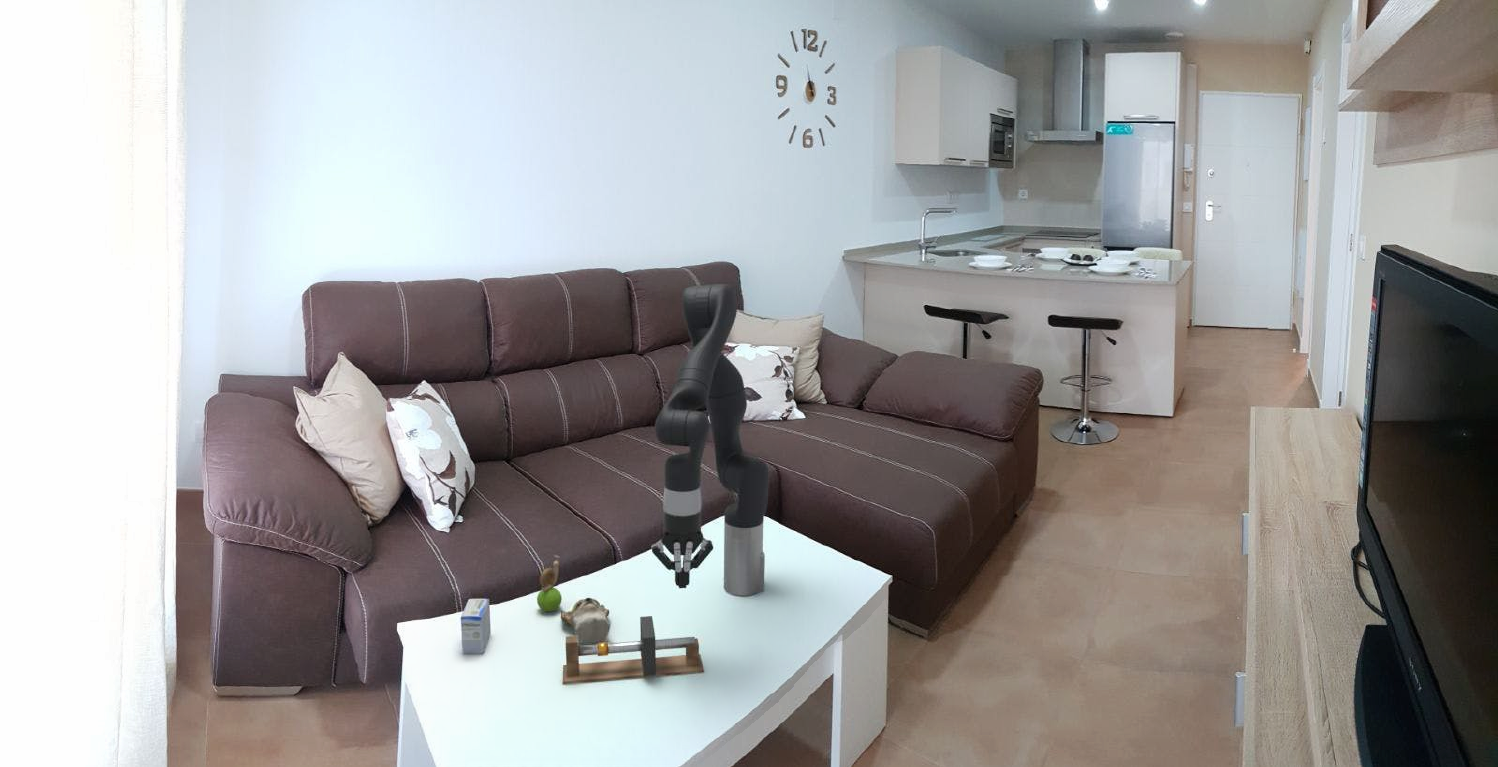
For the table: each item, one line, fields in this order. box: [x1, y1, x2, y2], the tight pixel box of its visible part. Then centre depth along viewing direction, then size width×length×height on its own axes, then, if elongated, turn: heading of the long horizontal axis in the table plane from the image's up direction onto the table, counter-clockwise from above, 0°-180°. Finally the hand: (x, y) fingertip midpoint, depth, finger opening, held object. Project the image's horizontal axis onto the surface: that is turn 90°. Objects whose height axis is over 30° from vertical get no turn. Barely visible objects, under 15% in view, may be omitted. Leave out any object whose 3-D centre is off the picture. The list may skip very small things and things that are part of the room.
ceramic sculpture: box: [560, 597, 611, 645], centre depth 203 cm, size 11×9×15 cm
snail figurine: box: [536, 555, 562, 612], centre depth 212 cm, size 5×6×12 cm
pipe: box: [578, 636, 696, 657], centre depth 188 cm, size 25×3×3 cm, turn 100°
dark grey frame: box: [639, 615, 657, 676], centre depth 189 cm, size 2×8×8 cm, turn 10°
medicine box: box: [460, 598, 491, 655], centre depth 197 cm, size 8×4×9 cm, turn 5°
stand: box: [562, 635, 705, 685], centre depth 189 cm, size 28×6×8 cm, turn 100°
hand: (682, 586), depth 191 cm, fingers closed
